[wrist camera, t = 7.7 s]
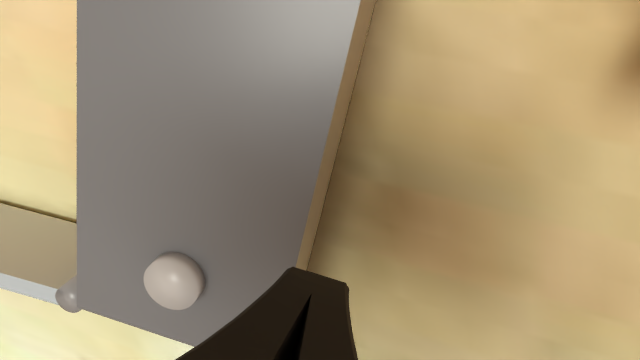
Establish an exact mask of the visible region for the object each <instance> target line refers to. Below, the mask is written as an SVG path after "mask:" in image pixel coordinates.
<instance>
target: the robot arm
mask: <svg viewBox="0 0 640 360" xmlns="http://www.w3.org/2000/svg"><path fill="white" fill-rule="evenodd" d="M176 360H358V358H357V353H356V348H355V343H354V339H353V333H352V327H351V319H350V311H349V288H348V286H347V284H346V283H344V282H341V281H338V280H335V279H331V278H328V277H325V276H322V275H318V274H315V273H312V272H309V271H306V270H302V269H299V268H296V267H291V268H288V269H287V270H286V271H285V272H284V273H283V274H282V275H281V276H280V278H279V279H278V280H277V281H276V282H275V283H274V284H273V285H272V286H271V287H270V288H269V289H268V290H267V291H265V292H264V293H263V294H262V295H261V296H260V297H259V298H258V299H257V300H256V301H254V302H253V303H252V304H251V305H250V306H248V307H247V308H246V309H245V310H244V311H243V312H241V313H240V314H239V315H238V316H237V317H235V318H234V319H233V320H232V321H230V322H229V323H228V324H226V325H225V326H223V327H222V328H221V329H219V330H218V331H217V332H215V333H214V334H213V335H211V336H210V337H209V338H207V339H206V340H205V341H203V342H202V343H200V344H199V345H197V346H196V347H194V348H193V349H191V350H190V351H188V352H187V353H185V354H184V355H182V356H180V357H179V358H177V359H176Z"/></svg>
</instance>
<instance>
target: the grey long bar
mask: <svg viewBox="0 0 640 360" xmlns="http://www.w3.org/2000/svg"><path fill="white" fill-rule="evenodd" d="M0 288H2V289H5V290H9V291H12V292H16V293H19V294H23V295H26V296H29V297H33V298H36V299H40V300H43V301H47V302H50V303H53V304H57V305H60V306H61V307H62V308H63V309H64V310H66V311H68V312H72V313H75V312H79V311H80V310H81V309H80V308H77V223H73V222H69V221H65V220H62V219H58V218H54V217H51V216H47V215H43V214H39V213H36V212H32V211H28V210H24V209H21V208H17V207H13V206H9V205H6V204H2V203H0Z"/></svg>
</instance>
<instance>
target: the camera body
mask: <svg viewBox="0 0 640 360" xmlns="http://www.w3.org/2000/svg"><path fill="white" fill-rule="evenodd" d="M375 2H376V0H77V308H80V309H83V310H86V311H89V312H92V313H95V314H98V315H101V316H104V317H107V318H110V319H113V320H116V321H119V322H122V323H125V324H128V325H131V326H134V327H137V328H140V329H143V330H146V331H149V332H152V333H155V334H158V335H161V336H164V337H167V338H170V339H173V340H176V341H179V342H182V343H185V344H188V345H191V346H194V347H196V346H197V345H199V344H200V343H202V342H203V341H205V340H206V339H207V338H209V337H210V336H211V335H213V334H214V333H215V332H217V331H218V330H219V329H221V328H222V327H223V326H225V325H226V324H228V323H229V322H230V321H232V320H233V319H234V318H235V317H237V316H238V315H239V314H240V313H241V312H243V311H244V310H245V309H246V308H247V307H248V306H250V305H251V304H252V303H253V302H254V301H256V300H257V299H258V298H259V297H260V296H261V295H262V294H263V293H264V292H265V291H267V290H268V289H269V288H270V287H271V286H272V285H273V284H274V283H275V282H276V281H277V280H278V279H279V278H280V276H281V275H282V274H283V273H284V272H285V271H286V270H287V269H288V268H291V267H296V268H299V269H302V270H306V271H307V267H308V263H309V259H310V255H311V252H312V248H313V244H314V240H315V236H316V232H317V228H318V224H319V220H320V216H321V213H322V209H323V205H324V201H325V197H326V193H327V189H328V185H329V181H330V178H331V174H332V170H333V166H334V162H335V158H336V154H337V150H338V146H339V142H340V139H341V135H342V131H343V127H344V123H345V119H346V115H347V111H348V107H349V103H350V100H351V96H352V92H353V88H354V84H355V80H356V76H357V72H358V68H359V65H360V61H361V57H362V53H363V49H364V45H365V41H366V37H367V33H368V29H369V26H370V22H371V18H372V14H373V10H374V6H375Z"/></svg>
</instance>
